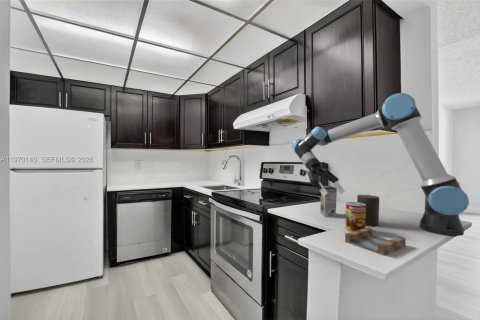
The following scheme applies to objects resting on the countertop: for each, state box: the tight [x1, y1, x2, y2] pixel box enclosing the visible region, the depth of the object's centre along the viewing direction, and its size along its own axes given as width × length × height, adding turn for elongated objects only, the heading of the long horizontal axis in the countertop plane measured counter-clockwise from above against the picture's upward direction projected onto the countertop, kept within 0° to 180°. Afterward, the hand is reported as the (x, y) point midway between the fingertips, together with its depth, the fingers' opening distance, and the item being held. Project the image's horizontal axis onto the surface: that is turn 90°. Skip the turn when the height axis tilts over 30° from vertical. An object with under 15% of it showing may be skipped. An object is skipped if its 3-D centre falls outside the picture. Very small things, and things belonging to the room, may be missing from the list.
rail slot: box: [344, 227, 407, 256], centre depth 85 cm, size 16×14×3 cm
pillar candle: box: [356, 194, 380, 227], centre depth 112 cm, size 10×10×15 cm
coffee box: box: [319, 185, 338, 218], centre depth 127 cm, size 9×6×16 cm
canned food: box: [345, 201, 366, 233], centre depth 101 cm, size 8×8×12 cm
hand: (334, 193), depth 110 cm, fingers open, 13 cm apart
